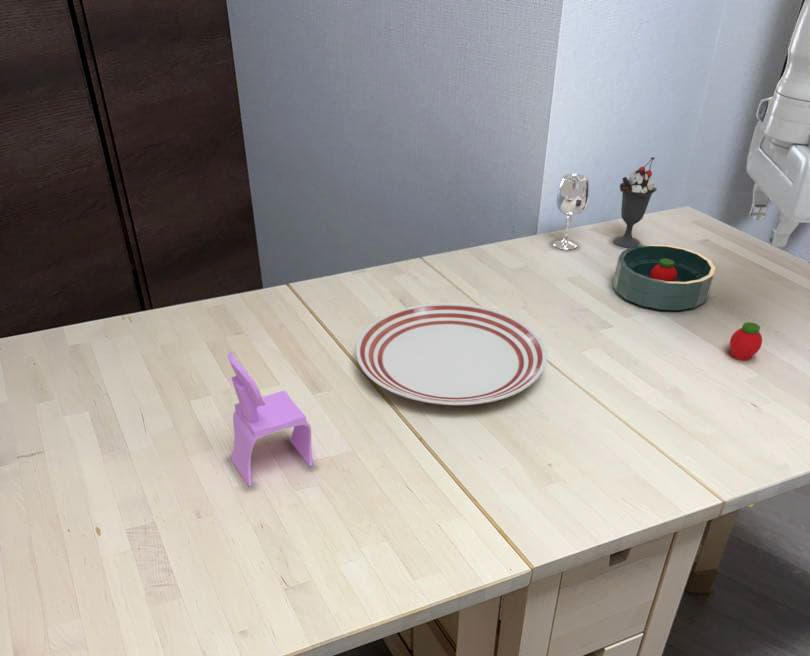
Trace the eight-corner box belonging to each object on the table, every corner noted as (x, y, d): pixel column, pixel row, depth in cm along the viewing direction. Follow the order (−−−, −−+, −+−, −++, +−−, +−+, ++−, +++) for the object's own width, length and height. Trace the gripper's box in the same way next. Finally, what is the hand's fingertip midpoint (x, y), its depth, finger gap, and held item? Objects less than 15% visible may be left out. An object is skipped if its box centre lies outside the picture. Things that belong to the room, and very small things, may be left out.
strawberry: (670, 283, 129) (677, 256, 125) (675, 295, 126) (683, 267, 122) (644, 282, 129) (651, 255, 126) (649, 294, 126) (656, 266, 122)
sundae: (648, 240, 144) (668, 156, 133) (637, 252, 140) (657, 166, 129) (615, 233, 146) (632, 150, 136) (604, 244, 142) (620, 160, 132)
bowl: (694, 273, 133) (702, 245, 130) (716, 314, 122) (726, 285, 118) (606, 270, 133) (612, 243, 130) (621, 311, 122) (627, 282, 119)
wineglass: (566, 253, 139) (577, 185, 130) (543, 243, 142) (552, 177, 134) (586, 245, 141) (598, 179, 133) (563, 236, 145) (574, 170, 136)
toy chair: (319, 469, 91) (310, 360, 81) (252, 491, 88) (233, 381, 78) (292, 434, 96) (280, 328, 86) (227, 454, 93) (207, 346, 83)
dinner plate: (557, 420, 99) (561, 399, 97) (352, 419, 99) (351, 398, 97) (531, 322, 119) (533, 303, 117) (360, 321, 119) (359, 301, 116)
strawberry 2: (751, 348, 114) (762, 319, 111) (760, 363, 111) (771, 333, 107) (722, 347, 114) (732, 318, 111) (730, 362, 111) (740, 332, 107)
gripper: (862, 146, 86) (815, 263, 95) (802, 99, 100) (767, 205, 110) (807, 144, 86) (765, 262, 95) (755, 98, 101) (724, 204, 110)
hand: (766, 231), depth 103 cm, fingers open, 8 cm apart
